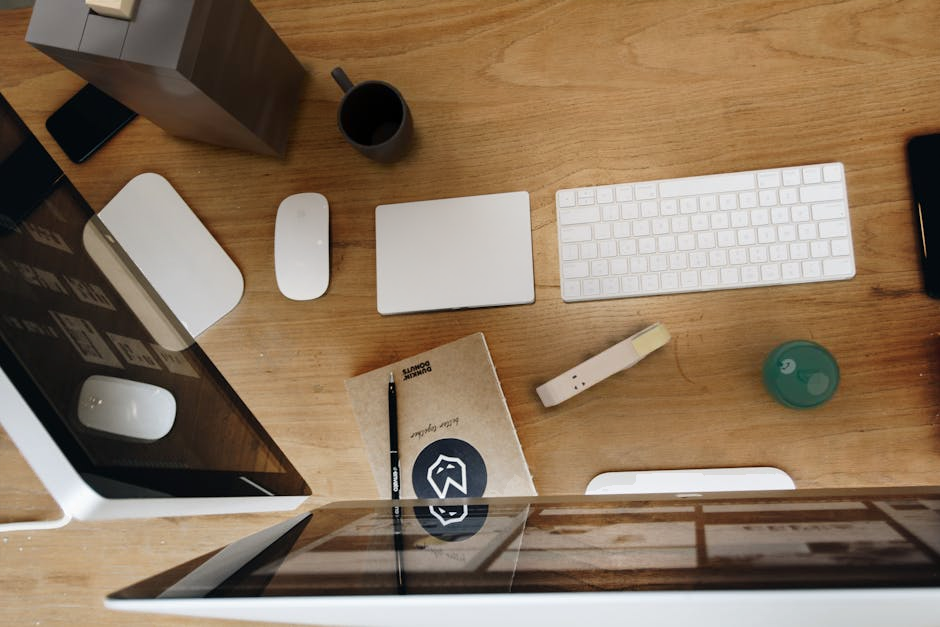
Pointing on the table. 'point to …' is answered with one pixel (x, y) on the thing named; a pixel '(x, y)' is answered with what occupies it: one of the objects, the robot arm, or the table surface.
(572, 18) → the table surface
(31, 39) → the piano
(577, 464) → the table surface
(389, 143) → the mug
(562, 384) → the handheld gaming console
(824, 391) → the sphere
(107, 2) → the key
